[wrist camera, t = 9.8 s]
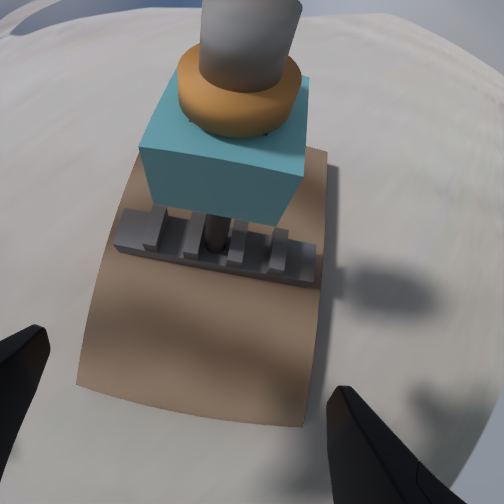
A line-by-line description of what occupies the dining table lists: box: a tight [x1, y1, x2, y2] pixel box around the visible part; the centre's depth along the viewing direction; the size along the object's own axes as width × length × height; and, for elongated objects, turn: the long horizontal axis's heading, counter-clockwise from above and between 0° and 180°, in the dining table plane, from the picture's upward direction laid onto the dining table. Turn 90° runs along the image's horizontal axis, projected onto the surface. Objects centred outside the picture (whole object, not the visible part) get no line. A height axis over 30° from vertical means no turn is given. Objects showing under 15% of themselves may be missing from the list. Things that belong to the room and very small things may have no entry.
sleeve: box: [138, 67, 309, 227], centre depth 9 cm, size 4×4×3 cm
